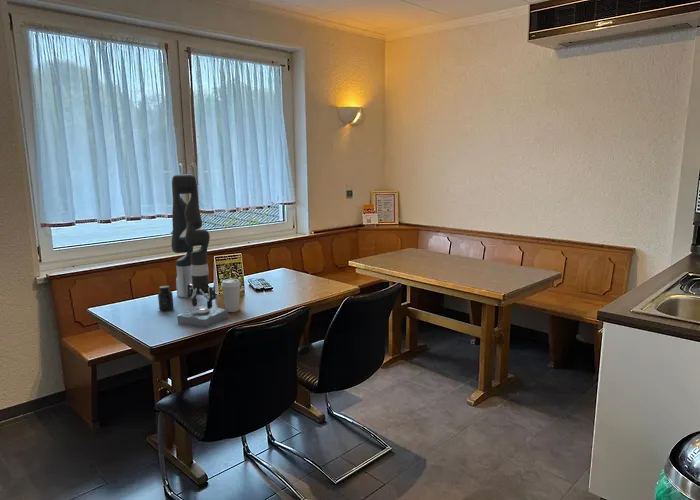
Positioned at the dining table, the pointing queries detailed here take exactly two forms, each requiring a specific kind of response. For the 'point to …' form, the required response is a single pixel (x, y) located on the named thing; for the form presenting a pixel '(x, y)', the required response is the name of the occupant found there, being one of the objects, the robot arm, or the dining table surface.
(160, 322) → the dining table surface
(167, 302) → the supplement bottle
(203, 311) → the bushing
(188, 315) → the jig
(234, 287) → the coffee cup
